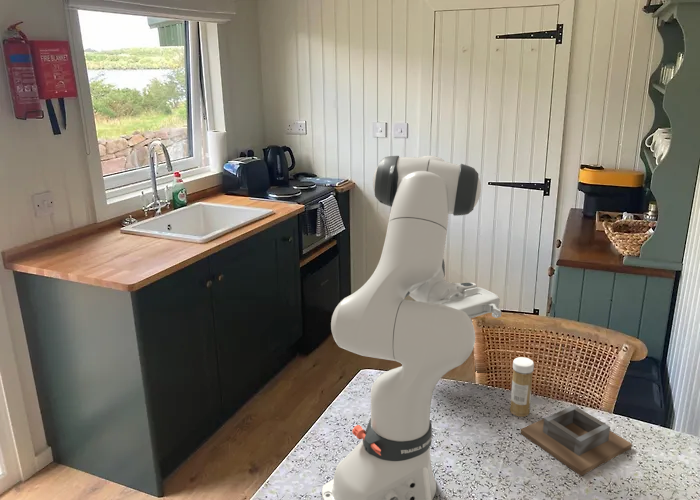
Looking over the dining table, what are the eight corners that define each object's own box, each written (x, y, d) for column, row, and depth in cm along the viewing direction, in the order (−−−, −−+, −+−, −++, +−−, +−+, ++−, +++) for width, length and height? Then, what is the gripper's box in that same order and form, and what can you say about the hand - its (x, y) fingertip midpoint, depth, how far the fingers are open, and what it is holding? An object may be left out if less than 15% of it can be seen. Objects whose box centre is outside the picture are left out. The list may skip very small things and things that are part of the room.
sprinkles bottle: (533, 411, 134) (537, 361, 130) (522, 420, 131) (527, 368, 127) (515, 404, 137) (519, 354, 133) (505, 411, 134) (509, 361, 130)
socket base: (580, 476, 113) (583, 456, 112) (520, 433, 126) (521, 415, 125) (631, 448, 121) (634, 429, 120) (569, 411, 134) (571, 393, 133)
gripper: (416, 297, 144) (452, 317, 133) (477, 281, 154) (515, 298, 143) (416, 320, 146) (451, 341, 135) (476, 302, 156) (513, 321, 145)
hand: (485, 319), depth 139 cm, fingers open, 8 cm apart
